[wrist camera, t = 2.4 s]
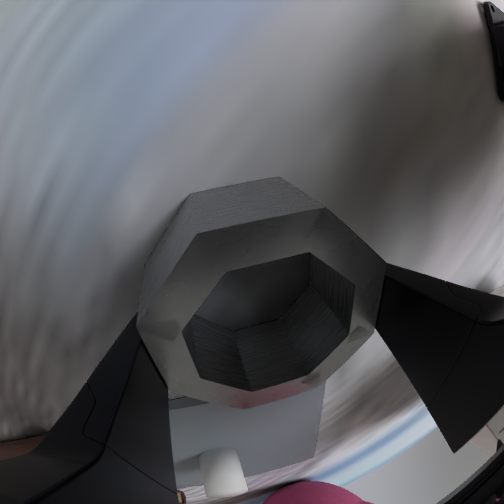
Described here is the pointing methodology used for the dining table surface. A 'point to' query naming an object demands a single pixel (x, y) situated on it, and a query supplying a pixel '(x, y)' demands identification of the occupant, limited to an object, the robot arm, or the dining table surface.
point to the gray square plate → (241, 440)
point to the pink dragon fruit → (313, 494)
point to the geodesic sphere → (485, 437)
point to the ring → (268, 334)
